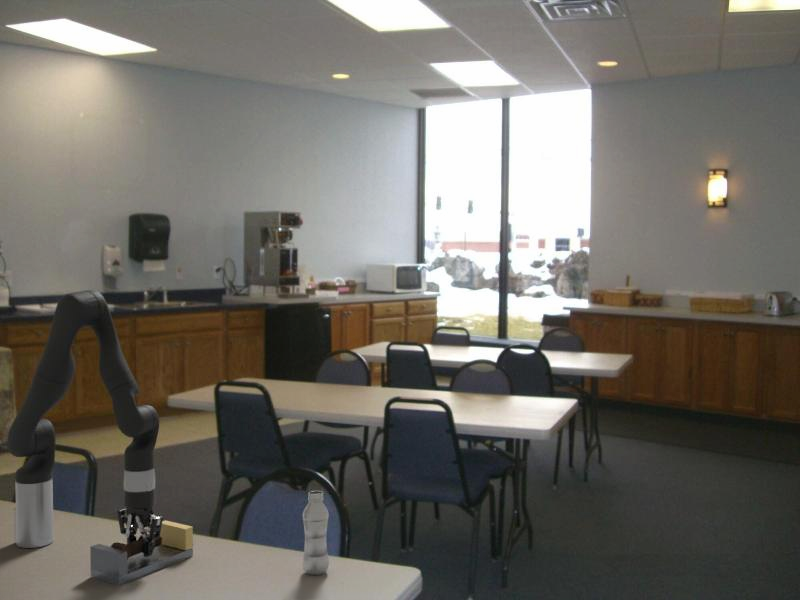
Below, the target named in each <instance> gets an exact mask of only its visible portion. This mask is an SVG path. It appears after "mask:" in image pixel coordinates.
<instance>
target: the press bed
mask: <svg viewBox="0 0 800 600" xmlns="http://www.w3.org/2000/svg"><path fill="white" fill-rule="evenodd" d="M89 549H90V553H89V554H90V578H92V579H96V580H98V581H103V582H105V583H106V582H107V583H109V584H113V585H116V586H122V585H125V584H126V583H129V582H131V581H134V580H137V579H139V578H142V577H145V576H146V575H149V574H152V573H154V572H157V571H159V570H162V569H164V568H167V567H169V566H171V565H174V564H177V563H179V562H182V561H184V560H186V558H187V559H189V558H191V556H192V557H193V556H194V552H193V551H194V547H193V548H191V549H188V550H182V549H178V548H174V547H170V546H166V545H162V544H161V545H159V546H157V547H155V548H154V550H153V553H152V555H151V556H149V557H144V553H142V552H141V553H139V554H136V555H133V556H131V557H129V558H128V560H127V551H124V550H120V549H117V548H113V547H111V546H109V545H105V544H101V543H97V544H94V545H91V546H90V547H89Z"/></svg>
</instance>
